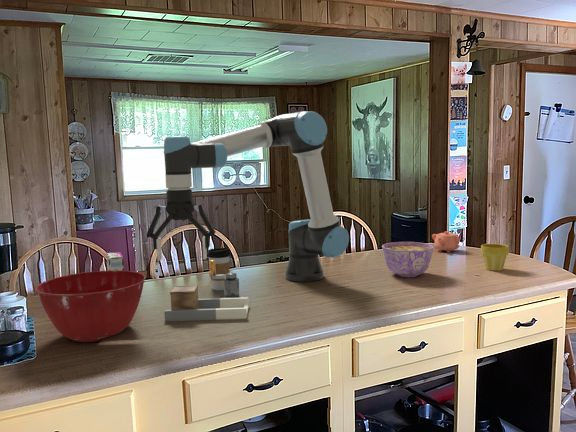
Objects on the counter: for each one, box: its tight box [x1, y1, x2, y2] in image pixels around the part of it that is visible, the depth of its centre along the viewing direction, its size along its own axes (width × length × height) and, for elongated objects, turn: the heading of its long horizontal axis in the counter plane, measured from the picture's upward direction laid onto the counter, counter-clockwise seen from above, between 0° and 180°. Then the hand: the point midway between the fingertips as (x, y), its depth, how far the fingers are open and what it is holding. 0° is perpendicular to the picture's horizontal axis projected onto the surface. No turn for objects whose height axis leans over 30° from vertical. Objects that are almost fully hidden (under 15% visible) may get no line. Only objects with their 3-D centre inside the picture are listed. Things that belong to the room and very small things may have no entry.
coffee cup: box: [207, 247, 231, 291], centre depth 187 cm, size 8×8×15 cm
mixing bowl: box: [35, 270, 146, 343], centre depth 142 cm, size 28×28×15 cm
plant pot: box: [480, 243, 510, 272], centre depth 207 cm, size 10×10×10 cm
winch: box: [219, 277, 247, 298], centre depth 169 cm, size 9×9×8 cm
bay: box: [164, 296, 250, 322], centre depth 155 cm, size 24×12×4 cm, turn 91°
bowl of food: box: [381, 241, 435, 278], centre depth 201 cm, size 20×20×12 cm
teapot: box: [431, 230, 461, 254], centre depth 246 cm, size 12×12×10 cm
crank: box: [208, 260, 238, 280], centre depth 168 cm, size 9×4×6 cm, turn 93°
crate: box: [169, 284, 199, 310], centre depth 155 cm, size 7×7×8 cm
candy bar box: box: [106, 251, 125, 271], centre depth 173 cm, size 11×5×16 cm, turn 23°
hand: (182, 259), depth 153 cm, fingers open, 13 cm apart
